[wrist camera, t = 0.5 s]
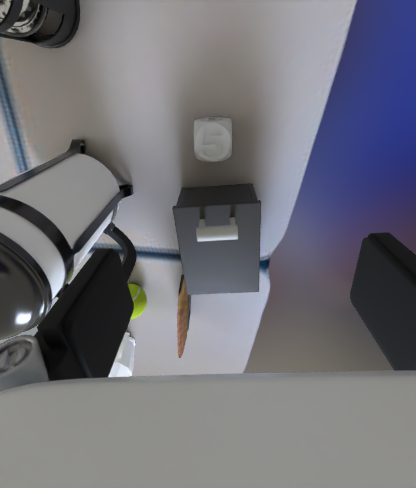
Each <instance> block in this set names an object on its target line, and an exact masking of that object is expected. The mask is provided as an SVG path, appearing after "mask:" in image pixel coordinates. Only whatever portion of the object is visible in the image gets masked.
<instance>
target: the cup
mask: <svg viewBox="0 0 416 488" xmlns="http://www.w3.org/2000/svg"><path fill="white" fill-rule="evenodd" d="M129 335H130V333H127V332H125V334H124V337H123V340H122V342H121V345H120V348H119V350H118V353H117V355H116V358H115V361H114V363H113V366H112V368H111V371H110V374H109V376H108V377H130V376H131V375H132V372H133V364H134V357H135V346H134V345H135V344H136V342H135V340H134V338H132V337H130V336H129Z"/></svg>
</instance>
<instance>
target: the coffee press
mask: <svg viewBox="0 0 416 488" xmlns="http://www.w3.org/2000/svg"><path fill="white" fill-rule="evenodd" d="M84 152H85V142H84V141H83V140H74V139H73V140H72V142H71V145H70V148H69V150H68V151H67V152H66V153H64V154H62V155H59V156H57V157H54V158H52V159H50V160H48V161H46V162H44V163H42V164H39V165H37V166H35V167H33V168H31V169H29V170H27V171H25V172H23V173H21V174H19V175H17V176H15V177H13V178H10V179H8V180H6V181H4V182H2V183H0V340H3V339H7V338H10V337H13V336H15V335H18V334H19V333H21V332H24V331H27V330H30V329H32V328H34V327H35V326H37V325H38V324H40V322H41V321H42V320H43V318H44V317H45V316H46V315H47V313H48V312H49V310H50V308H51V304H52V300H53V299H54V298H55V297H58V298H60V296H61V295H62V294H63V292H64V291H65V290H66V288H67V287H68V286H69V284H68V282H69V281H70V279H71V277H72V275H73V271H74V270H75V269H76V267H77V266H78V265H79V263H80V262H81V261H82V259H83V258H84V257H85V255H86V254H87V253H88V251H89V250H90V249H91V247H92V246H93V244H94V243H95V242H96V240H97V239H98V238H99V236H100V235H101V234H102V233H103V232H104V233H105V234H107V235H109V236H110V237H112V238H113V239H114V240H115V241H116V242H117V243H118V244H119V245H120V246H121V248H122V250H123V253H124V258H123V261H122V266H123V269H124V273H125V276H126V279H127V282H128V280H129V277H130V275H131V273H132V271H133V268H134V266H135V262H136V250H135V248H134V246H133V244H132V242H131V241H130V240H129V238H128V237H127V236H126V235H125V234H124V233H123V232H122V231H120V230H119V229H118V228H117V227H116V226H115V224H113V223H112V222H113V220H114V218H115V216H116V213H117V211H118V209H119V206H120V201H121V199H122V198H124V197H127V196H130V195H132V194H133V186H132V185H130V184H126V185H121V186H118V183H117V181H116V179H115V178H114V176H113V174H112V173H111V172H110V171H109V170H108V169H107V168H106V167H105V166H104V165H103V164H102V163H100V162H99V161H97V160H96V159H94V158H92V157H90V156H87V155H84ZM111 220H112V221H111ZM110 222H111V223H110ZM62 286H63V288H61V287H62Z"/></svg>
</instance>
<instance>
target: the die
mask: <svg viewBox="0 0 416 488" xmlns="http://www.w3.org/2000/svg"><path fill="white" fill-rule="evenodd" d="M194 149H195V156H196V158H197V159H199V160H201V161H208V162H216V161H224V160H227V159H229V158H230V157H231V153H232V120H231V119H230V118H224V117H208V118H199V119H196V120H195V121H194Z"/></svg>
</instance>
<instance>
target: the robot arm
mask: <svg viewBox="0 0 416 488" xmlns="http://www.w3.org/2000/svg"><path fill="white" fill-rule="evenodd" d="M350 299H351V302H352V304H353V306H354V307H355V308H356V311H357V312H358V314H359V315H360V317H361V318H362V320H363V322H364V323H365V325H366V327H367V328H368V330H369V331H370V333H371V334H372V336H373V338H374V339H375V341H376V342H377V344H378V346H379V347H380V349H381V350H382V352H383V354H384V355H385V357H386V358H387V360H388V362H389V363H390V365H391V366H392V368H393V370H394V371H344V372H290V373H245V374H201V375H166V376H130V377H108V376H109V374H110V371H111V368H112V366H113V363H114V361H115V358H116V355H117V353H118V350H119V348H120V345H121V342H122V340H123V337H124V334H125V332H126V329H127V327H128V324H129V321H130V319H131V316H132V314H133V310H134V303H133V299H132V296H131V293H130V289H129V286H128V283H127V279H126V276H125V273H124V269H123V266H122V263H121V259H120V256H119V254H118V252H114V250H113V249H97V250H96V251H95V252H94V253H93V254H92V256H91V257H90V258H89V260H88V261H87V262H86V264H85V265H84V266H83V267H82V269H81V270H80V271H79V273H78V274H77V275H76V277H75V278H74V279H73V281H72V282H71V283H70V284H69V286H68V287H67V288H66V290H65V291H64V292H63V294H62V295H61V296H60V298H59V299H58V300H57V301H56V303H55V304H54V305H53V307H52V308H51V309H50V311H49V312H48V313H47V315H46V316H45V317H44V318H43V320H42V321H41V322H40V324H39V325H38V326H37V328H38V332H37V333H36V334H35V336H31V335H21V336H16V337H14V338H11V339H9V340H7V341H5V342H3V343H1V344H0V488H416V255H415V254H414V253H413V252H412V251H410V250H409V249H408V248H407V247H405V246H404V245H403V244H402V243H401V242H399V241H398V240H397V239H396V238H395V237H394V236H392V235H391V234H390V233H371V234H369V235H368V237H367V238H364V239H363V242H362V246H361V250H360V254H359V259H358V263H357V267H356V271H355V275H354V279H353V284H352V288H351V292H350Z"/></svg>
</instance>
